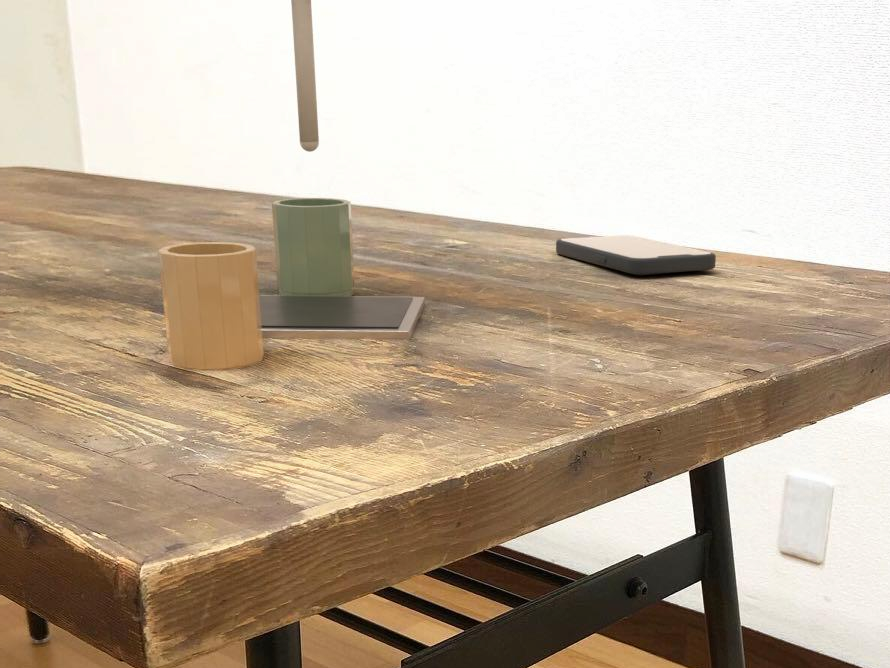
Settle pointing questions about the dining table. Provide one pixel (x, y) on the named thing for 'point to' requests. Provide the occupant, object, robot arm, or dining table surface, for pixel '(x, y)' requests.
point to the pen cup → (313, 247)
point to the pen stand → (211, 305)
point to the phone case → (636, 254)
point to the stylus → (305, 74)
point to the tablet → (338, 317)
